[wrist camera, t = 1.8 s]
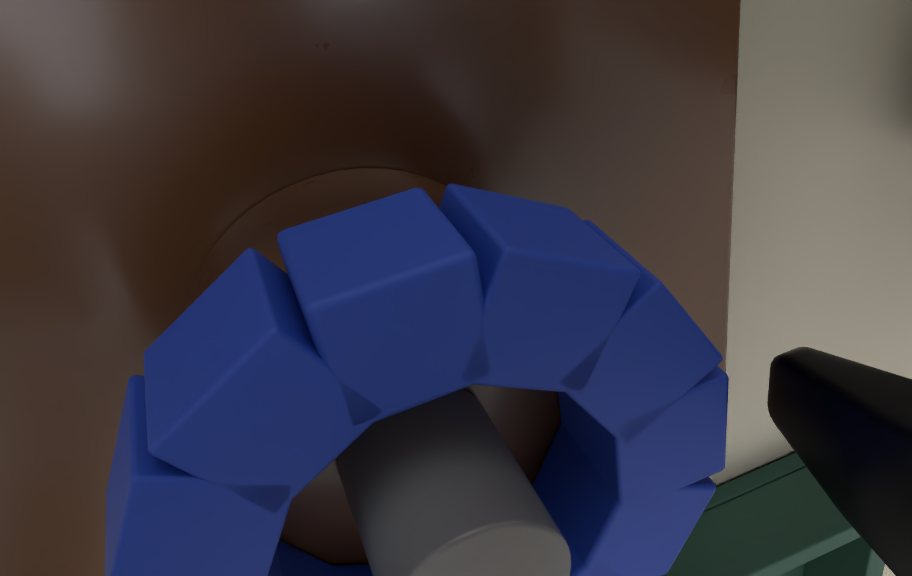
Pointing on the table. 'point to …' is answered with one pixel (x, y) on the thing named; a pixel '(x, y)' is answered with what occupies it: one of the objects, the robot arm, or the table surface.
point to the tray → (774, 530)
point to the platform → (321, 194)
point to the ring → (417, 383)
